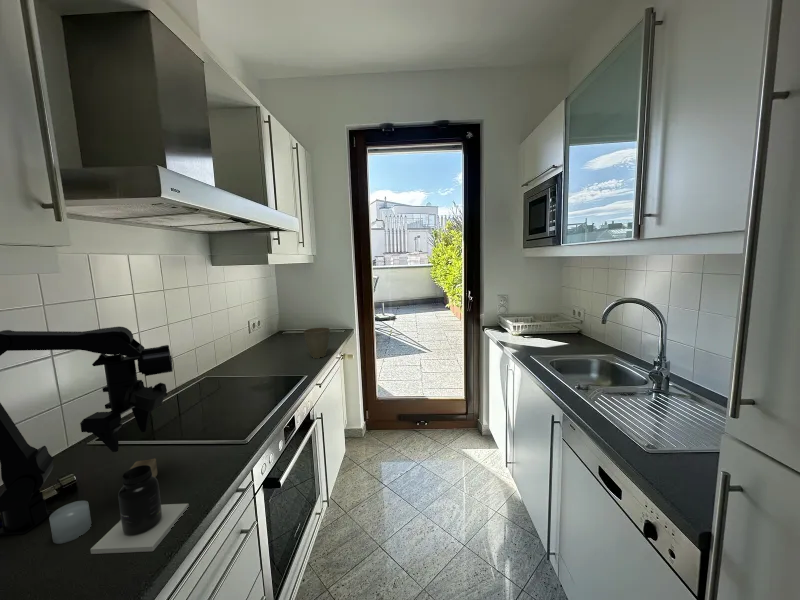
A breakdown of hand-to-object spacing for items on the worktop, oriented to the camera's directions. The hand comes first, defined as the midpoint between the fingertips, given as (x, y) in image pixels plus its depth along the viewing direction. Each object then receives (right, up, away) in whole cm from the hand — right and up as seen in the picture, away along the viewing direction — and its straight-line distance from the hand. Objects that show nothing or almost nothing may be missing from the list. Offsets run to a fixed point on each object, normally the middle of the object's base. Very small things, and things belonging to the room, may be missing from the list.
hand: (130, 441), depth 85 cm
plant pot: (+19, +1, +116) cm, 118 cm away
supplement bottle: (+11, -13, -11) cm, 21 cm away
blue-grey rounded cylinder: (-3, -15, -11) cm, 19 cm away
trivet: (+12, -14, -11) cm, 21 cm away
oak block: (-1, -13, +6) cm, 14 cm away
